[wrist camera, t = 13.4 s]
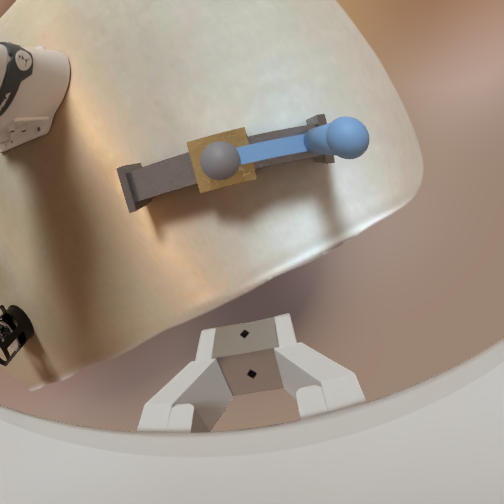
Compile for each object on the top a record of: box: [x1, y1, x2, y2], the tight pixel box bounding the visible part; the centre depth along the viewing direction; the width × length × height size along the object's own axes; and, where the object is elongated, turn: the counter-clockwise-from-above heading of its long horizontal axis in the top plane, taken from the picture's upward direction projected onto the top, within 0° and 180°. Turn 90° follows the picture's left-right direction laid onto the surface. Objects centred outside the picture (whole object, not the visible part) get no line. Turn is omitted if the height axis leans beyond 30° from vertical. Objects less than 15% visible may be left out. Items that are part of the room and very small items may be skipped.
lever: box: [200, 117, 369, 180], centre depth 24 cm, size 15×4×13 cm, turn 103°
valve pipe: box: [117, 114, 335, 213], centre depth 33 cm, size 26×6×6 cm, turn 103°
